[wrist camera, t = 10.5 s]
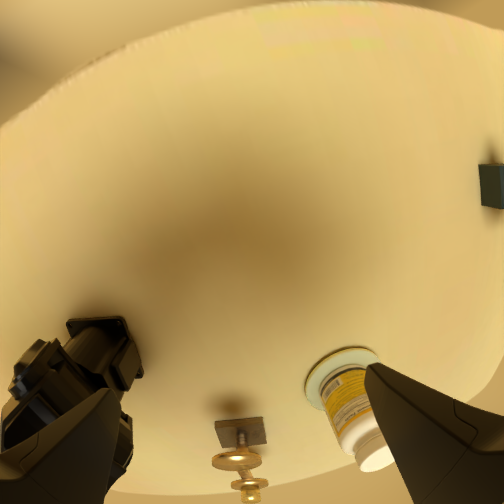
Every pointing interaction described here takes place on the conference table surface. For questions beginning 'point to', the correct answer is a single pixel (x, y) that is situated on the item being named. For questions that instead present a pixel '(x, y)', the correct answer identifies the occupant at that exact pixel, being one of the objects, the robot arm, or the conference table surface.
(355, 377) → the supplement bottle
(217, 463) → the balance
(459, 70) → the conference table surface
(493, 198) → the watch
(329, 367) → the dish
